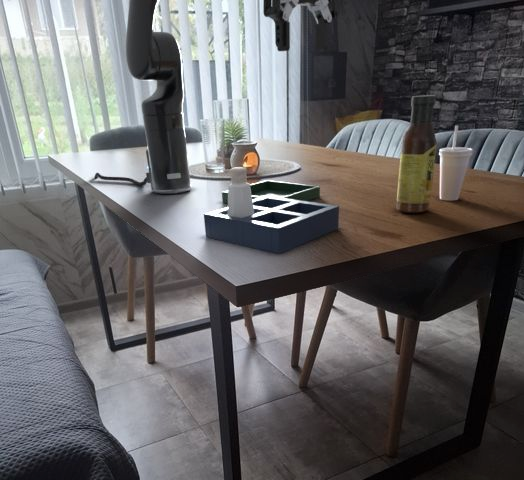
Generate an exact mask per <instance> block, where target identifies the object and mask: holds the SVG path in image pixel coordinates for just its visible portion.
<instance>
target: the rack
mask: <svg viewBox="0 0 524 480" xmlns="http://www.w3.org/2000/svg"><path fill="white" fill-rule="evenodd" d="M252 201H253V207H254V214H253V215H250V216H247V217H244V218H238V217H233V216H228V206H227V207H223V208H219V209H215V210H212V211H209V212H206V213H203V220H204V221H203V222H204V231H205V237H206V238H210V239H214V240H217V241H221V242H226V243H231V244H235V245H240V246H243V247H248V248H251V249H256V250H261V251H264V252H268V253H269V252H270V253H272V254H273V253H274V254H279V255H280V254H283V253H285V252H287V251H289V250H293V249H294V248H297V247H298V246H301V245H304V244H306V243H308V242H311V241H313V240H316V239H318V238H321V237H323V236H325V235H328V234H330V233H332V232H334V231H337V230H339V217H340V206H339V205H333V204H329V203H320V202H314V201H300V200H293V199H286V198H279V197H272V196H264V197H260V198H257V199H253V200H252Z"/></svg>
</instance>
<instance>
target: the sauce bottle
mask: <svg viewBox="0 0 524 480" xmlns="http://www.w3.org/2000/svg"><path fill="white" fill-rule="evenodd" d="M410 102H411V103H410V105H411V115H410V120H409V122H410V124H409V126H408V128H407V130H406V131H405V133H404V135H403V136H402V141H401V153H400V156H399V169H398V180H397V181H398V182H397V190H396V191H397V192H396V210H397V211H398V212H401V213H404V214H405V213H407V214H419V213H424V212H427V211H428V210H429V207H430V202H431V198H432V197H431V196H432V189H433V180H434V172H435V165H436V154H437V145H438V143H437V137H436V135H435V134H436V133H435V129H434V122H433V117H434V109H435V108H434V107H435V105H436V95H435V94H433V95H431V94H430V95H413V96H411V101H410Z"/></svg>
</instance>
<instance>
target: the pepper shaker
mask: <svg viewBox="0 0 524 480" xmlns="http://www.w3.org/2000/svg"><path fill="white" fill-rule="evenodd" d="M247 172H248V168H246V167H244V166H237V167H236V166H235V167H232V168H230V169H229V174H230V182H231V183H230V184H229V185H227V187H228V188H227V190H228V203H227V207H228V216H233V217H238V218H244V217H247V216H250V215H253V214H254V207H253V201H252V194H251V187H250V184H251V183H249V182H247V180H248V179H247Z"/></svg>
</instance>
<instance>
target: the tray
mask: <svg viewBox="0 0 524 480" xmlns="http://www.w3.org/2000/svg"><path fill="white" fill-rule="evenodd" d="M249 184H250V187H251V194H252V200H253V199H257V198H260V197H264V196H272V197H279V198H286V199H293V200H300V201H307V202H310V201H312V200H314V199H318V198H321V186H318V185H313V184H304V183H294V182H288V181H287V182H286V181H277V180H269V179H267V180H262V181H258V182H255V183H249ZM221 199H222V203H224V204H228V189H227V190H224V191H221Z"/></svg>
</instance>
